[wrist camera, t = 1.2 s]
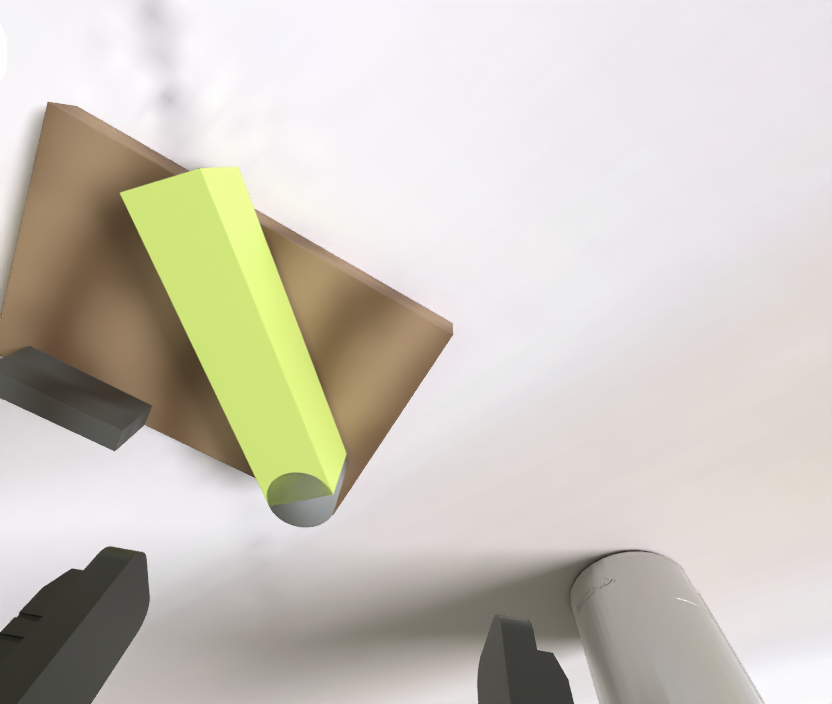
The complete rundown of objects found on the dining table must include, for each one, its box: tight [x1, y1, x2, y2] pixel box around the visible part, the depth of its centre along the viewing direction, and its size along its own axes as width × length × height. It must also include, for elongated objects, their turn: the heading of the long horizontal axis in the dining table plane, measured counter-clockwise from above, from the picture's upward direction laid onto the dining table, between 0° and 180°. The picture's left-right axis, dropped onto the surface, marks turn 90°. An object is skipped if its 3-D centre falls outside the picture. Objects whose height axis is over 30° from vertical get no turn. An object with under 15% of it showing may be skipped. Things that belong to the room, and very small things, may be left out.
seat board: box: [0, 102, 453, 515], centre depth 27 cm, size 24×16×5 cm, turn 60°
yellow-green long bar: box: [120, 167, 348, 527], centre depth 26 cm, size 20×4×4 cm, turn 15°
